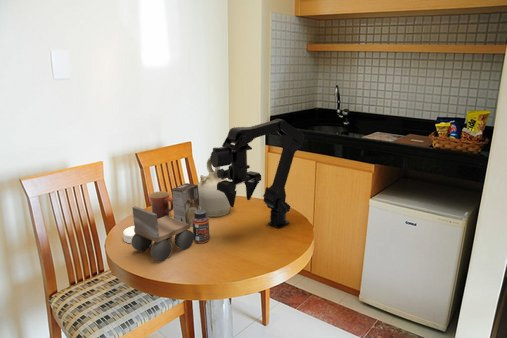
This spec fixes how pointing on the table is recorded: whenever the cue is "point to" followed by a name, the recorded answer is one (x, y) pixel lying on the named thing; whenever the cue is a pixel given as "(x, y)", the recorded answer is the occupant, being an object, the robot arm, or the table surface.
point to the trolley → (159, 233)
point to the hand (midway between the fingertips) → (240, 203)
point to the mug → (161, 203)
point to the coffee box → (185, 202)
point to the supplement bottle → (200, 227)
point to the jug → (212, 194)
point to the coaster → (128, 234)
